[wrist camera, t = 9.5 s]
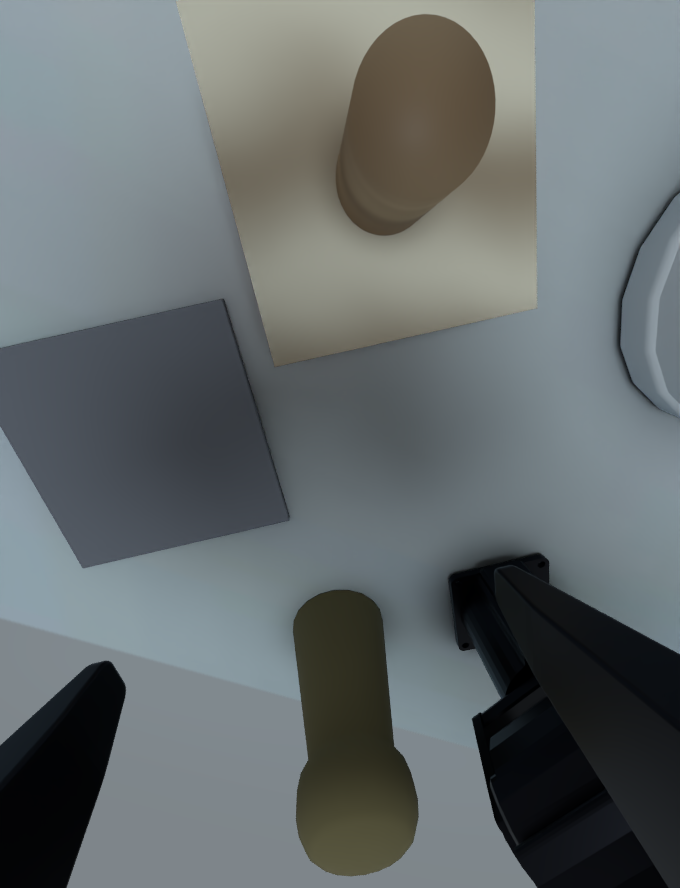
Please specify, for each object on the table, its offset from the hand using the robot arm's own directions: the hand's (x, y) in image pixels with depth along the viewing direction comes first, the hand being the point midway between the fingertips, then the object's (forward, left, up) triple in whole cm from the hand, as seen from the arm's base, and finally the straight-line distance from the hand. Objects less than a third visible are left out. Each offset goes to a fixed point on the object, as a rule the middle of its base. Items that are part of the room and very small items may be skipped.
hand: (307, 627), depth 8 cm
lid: (+10, -5, -8) cm, 14 cm away
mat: (+2, +8, -12) cm, 15 cm away
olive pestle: (-13, +1, -12) cm, 18 cm away
